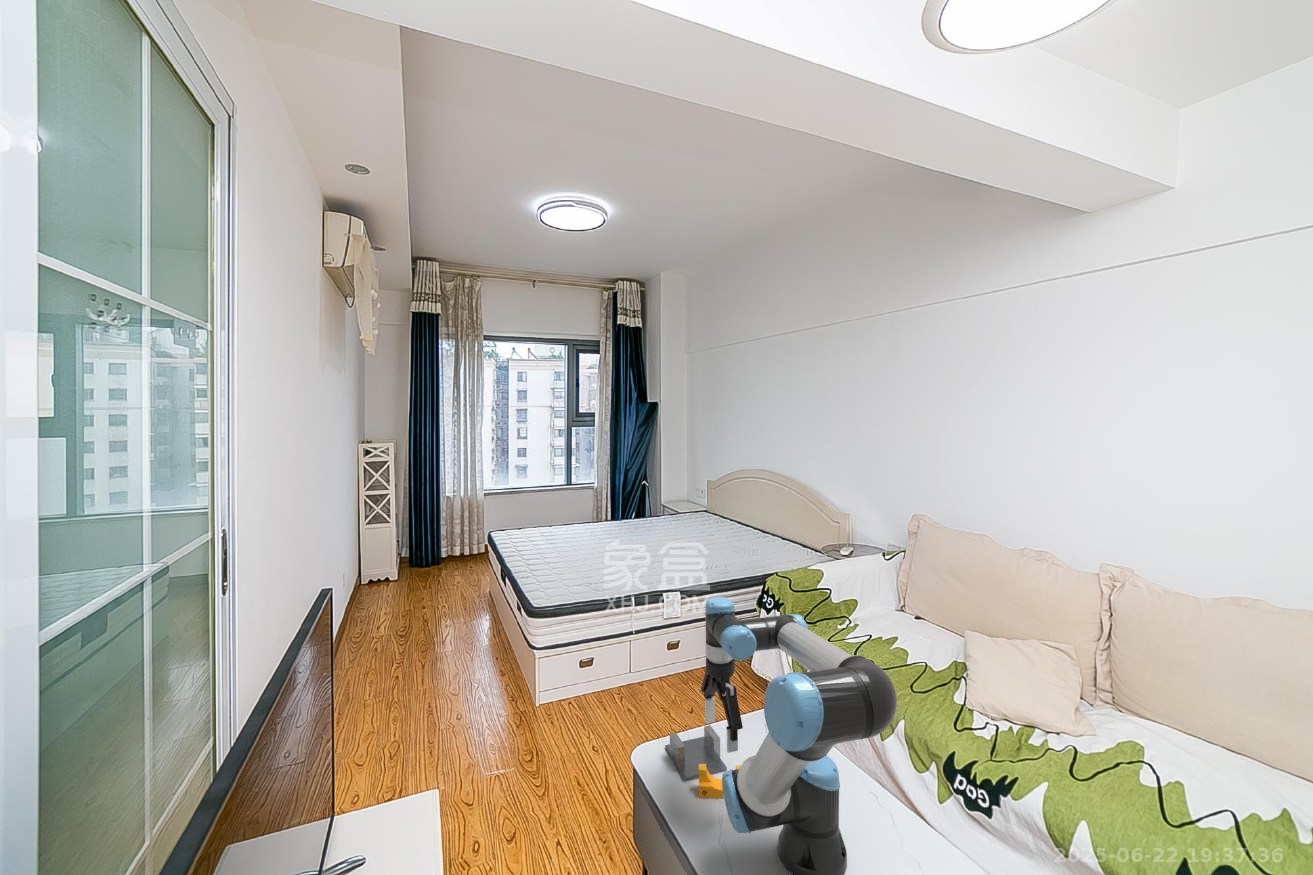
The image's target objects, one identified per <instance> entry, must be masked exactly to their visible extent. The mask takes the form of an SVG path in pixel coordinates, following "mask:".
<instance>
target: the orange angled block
mask: <svg viewBox="0 0 1313 875" xmlns="http://www.w3.org/2000/svg"><path fill="white" fill-rule="evenodd" d="M741 765H742V764H741ZM741 765H738V764H736V766H735V770H736V769H739V768H740V766H741ZM701 797H702V799H703V798H705V797H708V798H707V799H724V794H723V787H722V778H718V777H715V776H713V774H712V775H711V774H710V773H709V772H708V770H707V768H706V764H699V778H698V798H701ZM705 799H706V798H705Z"/></svg>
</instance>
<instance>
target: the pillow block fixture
mask: <svg viewBox="0 0 1313 875" xmlns="http://www.w3.org/2000/svg"><path fill="white" fill-rule="evenodd" d="M703 727H704V728H703V732H704V733H703V736H700V737H695V738H691V739H687V740H683V741H682V739H681V738H680V737H679V735H678V733H677V732H673V733H669V744H665V746H664V749H665V750H666V753H667V754H668V756H669V757H670V760H671V761H672V763H673V764H674V767H675V768H676V769H677V771H678V773H679V775H680V777H681V778H682V780H683V782H687V781H692V780H695V779H699V764H706V768H707V770H708V772H709V773H710V774H711V775H712V776H713V775H716V774H720V773H724V772H726V771H728V770H727V769H728V767H727V765H726V764H725V763H724V762H723V759H721V737H720V736H719V735H718V733H717V732H716V731H715V729H714V728H713V726H711V724H710V725H709V724H708V725H705V726H703Z"/></svg>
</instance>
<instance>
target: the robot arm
mask: <svg viewBox="0 0 1313 875" xmlns="http://www.w3.org/2000/svg"><path fill="white" fill-rule="evenodd" d="M735 611H736V609H735V603H734V601H733V600H732V599H731V598H728V597H725V596H715V597H711V598H709V599H708V600H706V602H705V612H704V616H705V668H704V669H705V672H704V676H703V680H702V684H701V686H700V687H701V688H700V691H701V693H703V697H704V722H705V724H709V723H715V722H716V698H715V697H716V693H717V695H718V698H719V700H720V701H721V703H722V706H723V710H724V714H725V719H726V722H727V726H726V727H725V729H726V752H727V754H729V753H733V752H737V751H738V750H739V747H738V746H739V743H738V742H739V740H738V739H739V738H738V736H739V734H738V732H739V730H741V729H743V728H744V727H743V721H742V716H741V711H740V706H739V700H738V695H737V686H736V685H732V684H731V680H730V679H731V677H732V676H733V675H734V674H735V671H736V670H735V669H736V668H735V665H736V664H735V662H736V661H740V662H741V661H743V662H744V661H746V660H748V659H749V658H751V657H752V656H753V655H754V654H755V652H758V651H759V652H760V651H766V650H767V651H769V650H777V649H778V650H781V651H782V652H783V653H785V654H786V655H787V656H788V657H790V658H791V659H793V660H794V661H795V662H797V663H798V664H799V665H801V666H802V667H803V668H805V669H806V670H808V671H806V672H788V673H787V674H783V675H778V676H777V677H776V676H775V677H774V678H773V679H772V680H771V681H770V682H769V683H768V684H767V686H766V689H765V693H764V697H763V698H764V701H765V703H764V704H763V715H764V719H765V720H764V721H765V723H766V724H765V725H766V728H767V731H768V733H767V735H766V736H765V738H764V739H763V741H762V743H761V745H760V747H759V748H758V750H757V752H756V753H755V755H751V756H749V757H748V758H746V759H745V760H743V762H742V763H741V766H740V768H739V769H736V768H735V769H729V770H727V771H724V772H722V777H721V779H722V787H723V794H724V798H723V799H724V804H725V807H726V808H725V809H726V812H727V816H728V818H729V822H730V824H731V826H732V828H733V829H734V831H735V832H736V833H738V834H743V833H744V834H745V833H746V834H751V833H752V832H756V831H761V830H767V829H769V828H771V829H772V828H775V827H780V826H782V829H781V830H780V832H779V836H778V840H777V841H778V842H777V843H778V844H777V845H778V847H777V848H778V851H777V852H778V856H779V859H780V861H781V863H782V864H783V866H784V867H785V869H787V871H789V872H790V873H792V875H844V874H845V872H846V869H847V866H848V853H847V848H846V844H845V841H844V839H843V836H842V835H843V834H842V833H841V829H840V827H839V826H840V789H841V784H840V774H839V769H838V766H837V765H836V762H835V761H834V760H833V759H832V758H831V757H830V756H828V754H829V752H830V751H831V749H832V748H834V746H835V745H838V744H843V743H849V742H853V741H858V740H863V739H864V740H865V739H870V738H873V737H874V738H875V737H877V736H878V735H879V734H882V733H883V732H884V731H886V730H887V728H888V727H890V725H891V724H892V722H893V720H894V719H895V715H896V711H897V705H898V703H897V701H898V698H897V692H896V688H895V687H894V683H893V682H892V680H891V678H890V676H889V675H888V673H886V671H885V670H884V669H883V668H882V667H880V666H879V665H878V664H877V663H875V662H873V661H871V660H870V659H868V658H867V657H866V656H863V655H859V654H858V655H857V654H855V655H854V654H853V655H851V654H850V653H848V652H847V651H844V650H843V649H841V648H840V647H839V646H836V645H835V644H833V643H831V642H829V641H828V640H827V639H825V638H823V637H821V636H819V635H818V634H816V633H814V632H813V631H811V630H810V629H809V627H808V624H807V622H806V620H804V617H803V616H802V615H800V614H798V613H797V614H796V613H795V614H789V613H788V614H787V613H786V614H782V615H781V614H780V615H774V616H767V617H757V618H756V617H755V618H750V619H739V618H737V616H736V615H735ZM735 660H736V661H735Z"/></svg>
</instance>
